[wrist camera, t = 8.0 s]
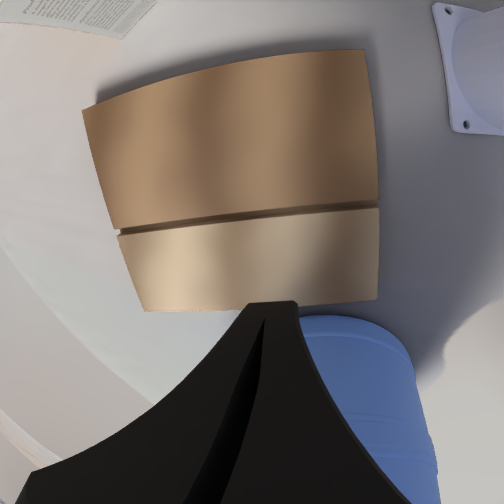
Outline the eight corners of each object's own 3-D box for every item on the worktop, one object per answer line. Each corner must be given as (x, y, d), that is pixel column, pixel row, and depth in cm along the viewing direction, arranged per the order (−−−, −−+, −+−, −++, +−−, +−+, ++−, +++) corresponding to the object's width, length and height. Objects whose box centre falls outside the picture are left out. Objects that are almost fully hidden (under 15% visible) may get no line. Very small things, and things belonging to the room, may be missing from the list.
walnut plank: (359, 52, 13) (363, 49, 12) (373, 192, 16) (378, 199, 15) (92, 108, 16) (81, 110, 15) (122, 222, 20) (114, 229, 19)
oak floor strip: (374, 195, 17) (378, 202, 16) (373, 289, 19) (377, 299, 18) (123, 224, 20) (114, 231, 19) (150, 302, 22) (144, 311, 21)
